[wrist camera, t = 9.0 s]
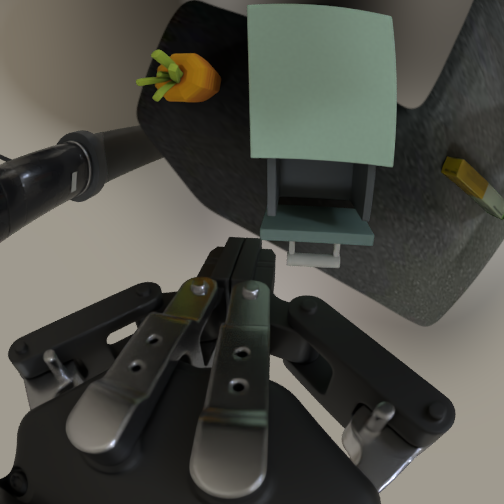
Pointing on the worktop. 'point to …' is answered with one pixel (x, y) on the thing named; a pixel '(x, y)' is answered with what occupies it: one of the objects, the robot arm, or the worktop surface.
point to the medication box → (474, 185)
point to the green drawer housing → (321, 83)
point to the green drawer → (318, 207)
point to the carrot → (183, 78)
